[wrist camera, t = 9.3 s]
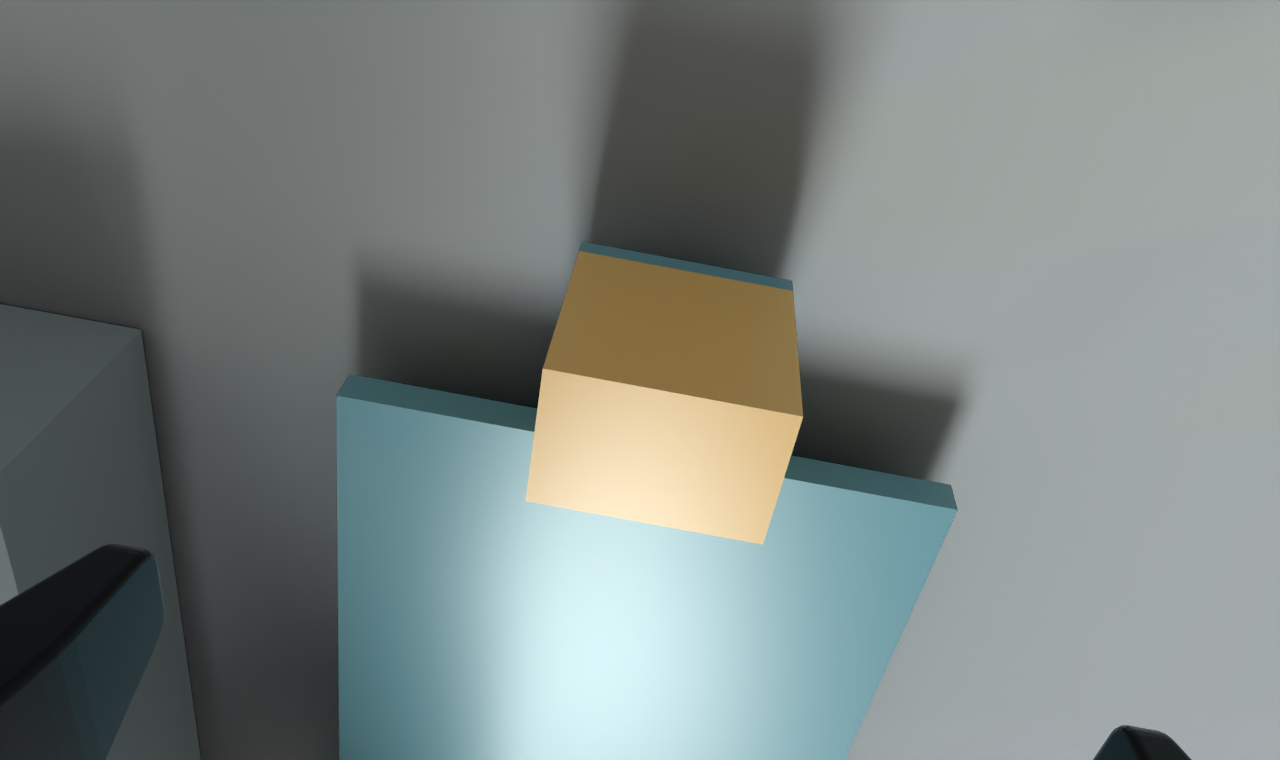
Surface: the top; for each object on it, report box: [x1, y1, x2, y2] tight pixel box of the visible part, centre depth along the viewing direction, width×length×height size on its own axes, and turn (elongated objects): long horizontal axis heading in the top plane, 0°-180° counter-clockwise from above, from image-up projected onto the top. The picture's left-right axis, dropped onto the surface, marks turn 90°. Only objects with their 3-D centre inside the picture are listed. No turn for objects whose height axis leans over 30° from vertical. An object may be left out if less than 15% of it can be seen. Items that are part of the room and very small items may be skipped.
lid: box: [336, 242, 957, 760], centre depth 17 cm, size 16×10×4 cm, turn 171°
